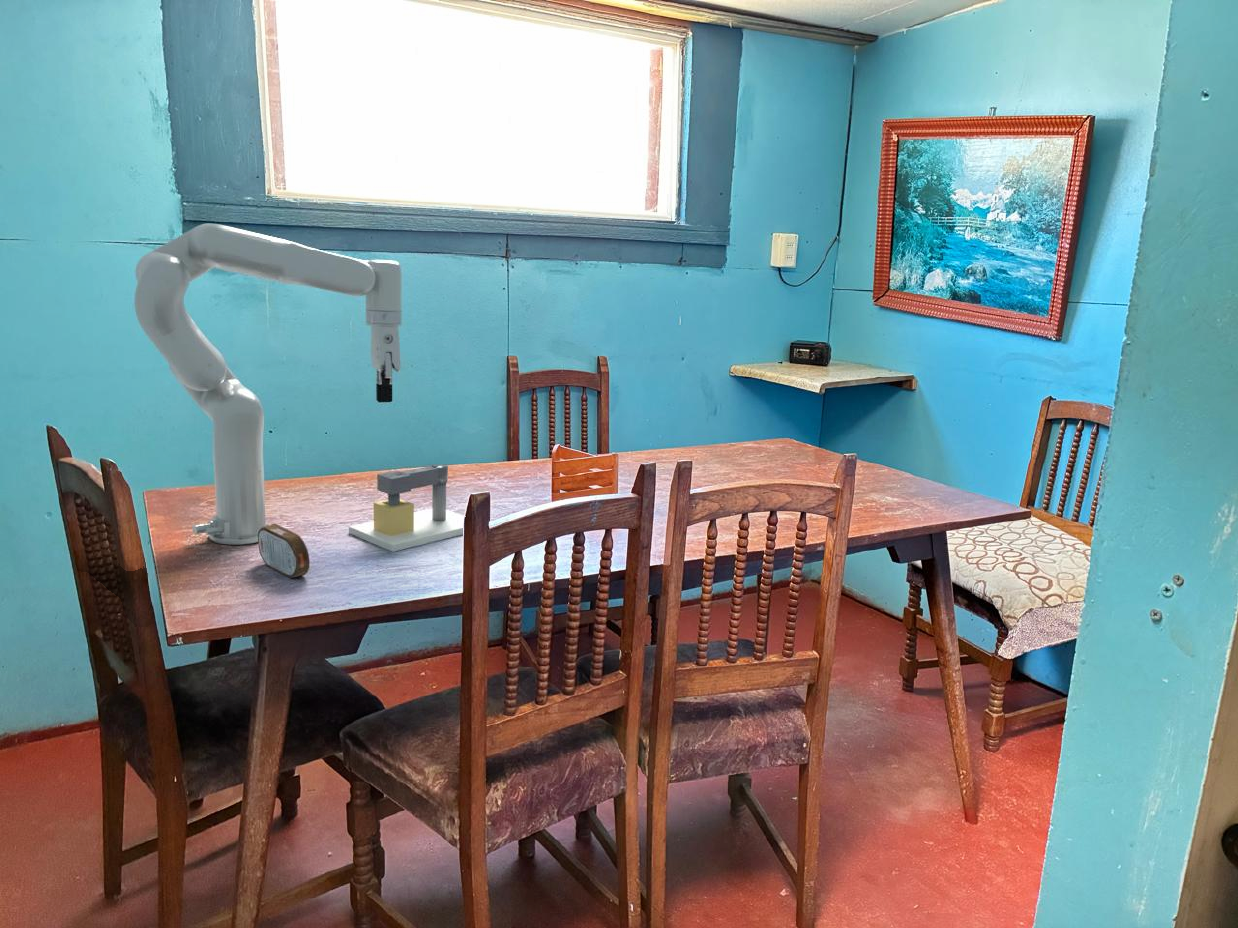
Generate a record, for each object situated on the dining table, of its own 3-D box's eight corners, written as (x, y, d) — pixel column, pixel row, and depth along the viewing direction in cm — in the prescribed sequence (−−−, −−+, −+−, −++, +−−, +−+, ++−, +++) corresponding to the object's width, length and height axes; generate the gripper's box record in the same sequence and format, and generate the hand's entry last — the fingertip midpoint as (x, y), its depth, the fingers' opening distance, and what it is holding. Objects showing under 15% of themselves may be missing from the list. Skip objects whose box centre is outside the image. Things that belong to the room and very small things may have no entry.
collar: (413, 530, 202) (413, 503, 200) (390, 535, 198) (389, 508, 196) (397, 523, 206) (397, 497, 204) (373, 529, 201) (373, 502, 200)
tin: (311, 580, 175) (310, 537, 173) (296, 584, 173) (294, 541, 171) (270, 559, 185) (269, 518, 183) (255, 562, 183) (253, 521, 181)
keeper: (438, 478, 211) (438, 463, 210) (452, 482, 208) (453, 467, 207) (377, 490, 199) (377, 474, 198) (391, 495, 196) (391, 479, 195)
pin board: (392, 551, 192) (392, 505, 190) (348, 532, 203) (348, 488, 200) (482, 529, 210) (483, 486, 208) (438, 512, 220) (438, 471, 218)
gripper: (408, 322, 198) (408, 407, 203) (394, 315, 211) (394, 395, 216) (372, 321, 195) (373, 408, 199) (360, 314, 208) (361, 396, 213)
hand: (384, 401), depth 208 cm, fingers closed
